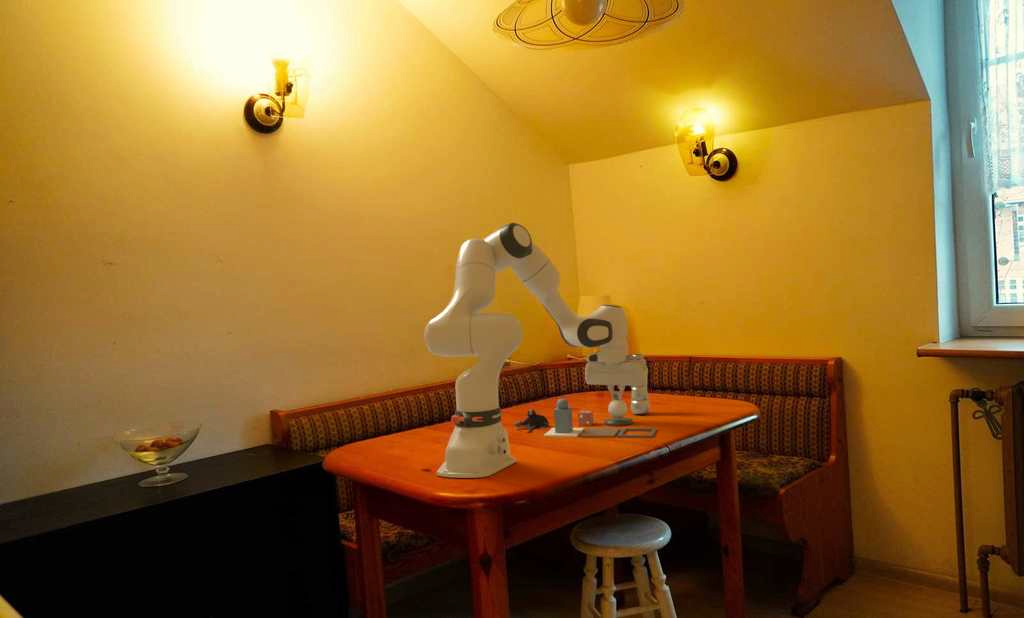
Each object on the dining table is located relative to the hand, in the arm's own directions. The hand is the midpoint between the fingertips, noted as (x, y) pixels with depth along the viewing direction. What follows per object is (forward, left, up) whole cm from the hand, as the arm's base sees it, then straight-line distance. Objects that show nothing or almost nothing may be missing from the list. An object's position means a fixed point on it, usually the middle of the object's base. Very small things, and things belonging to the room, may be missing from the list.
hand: (617, 399), depth 226 cm
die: (-2, +10, -8) cm, 13 cm away
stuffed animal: (-7, +27, -8) cm, 29 cm away
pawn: (-15, +14, -7) cm, 22 cm away
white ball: (0, 0, -6) cm, 6 cm away
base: (0, 0, -8) cm, 8 cm away
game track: (-15, +3, -8) cm, 17 cm away
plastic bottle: (+15, -5, -8) cm, 18 cm away
